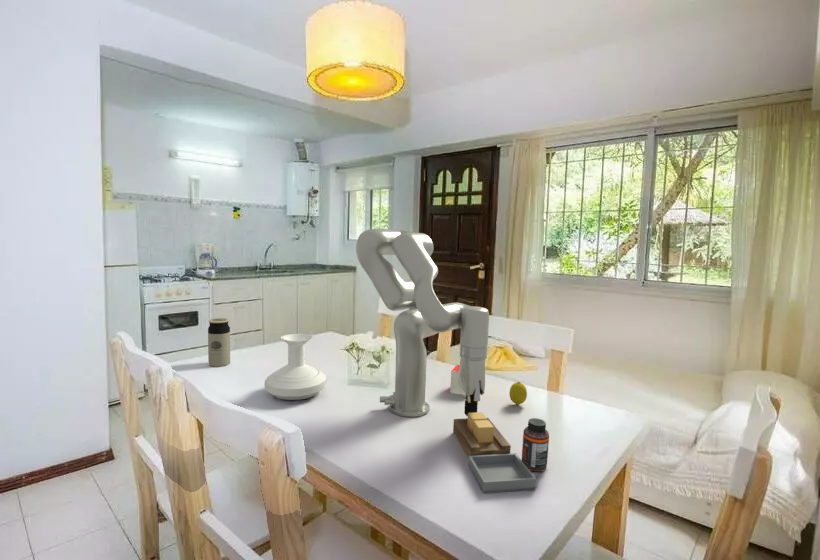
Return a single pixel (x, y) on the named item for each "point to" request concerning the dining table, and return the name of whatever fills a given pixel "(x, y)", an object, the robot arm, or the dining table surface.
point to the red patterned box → (455, 381)
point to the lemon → (518, 393)
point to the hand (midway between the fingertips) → (470, 414)
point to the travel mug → (218, 342)
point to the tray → (501, 473)
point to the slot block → (473, 446)
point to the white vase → (295, 373)
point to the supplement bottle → (535, 445)
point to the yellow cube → (474, 419)
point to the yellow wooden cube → (483, 431)
